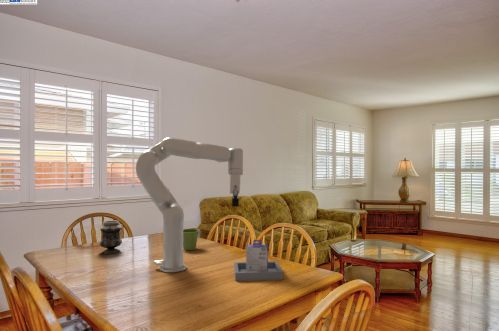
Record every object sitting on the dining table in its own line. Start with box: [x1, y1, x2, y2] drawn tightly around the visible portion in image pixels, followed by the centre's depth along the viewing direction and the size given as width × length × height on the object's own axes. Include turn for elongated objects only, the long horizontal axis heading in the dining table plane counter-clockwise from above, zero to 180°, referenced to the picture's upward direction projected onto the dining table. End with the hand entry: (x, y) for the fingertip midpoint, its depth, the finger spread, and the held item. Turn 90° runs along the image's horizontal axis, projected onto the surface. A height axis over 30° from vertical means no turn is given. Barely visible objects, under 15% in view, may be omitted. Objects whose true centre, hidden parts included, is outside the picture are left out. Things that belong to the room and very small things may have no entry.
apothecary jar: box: [99, 220, 123, 255], centre depth 195 cm, size 12×12×18 cm
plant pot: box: [183, 228, 200, 251], centre depth 201 cm, size 12×12×11 cm
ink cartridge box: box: [245, 239, 269, 272], centre depth 154 cm, size 10×6×14 cm, turn 84°
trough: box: [233, 260, 284, 282], centre depth 154 cm, size 21×16×4 cm
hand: (235, 205), depth 172 cm, fingers open, 9 cm apart
